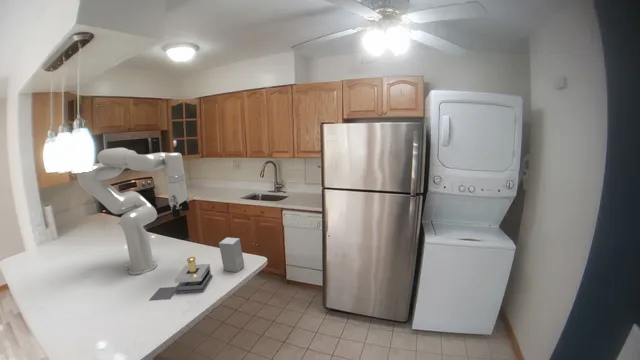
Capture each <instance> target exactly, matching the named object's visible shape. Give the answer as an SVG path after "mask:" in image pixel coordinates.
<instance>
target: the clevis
mask: <svg viewBox="0 0 640 360" xmlns="http://www.w3.org/2000/svg"><path fill="white" fill-rule="evenodd" d="M196 269H197V273H193V274H190V273H189V266H188V264H187V265H186V264H185V265H184V266H183V268H182V270H180V271H179V273H178V274H177V275H176V276H175V278H174V282H175V283H176V284H177V283H178V284H177V285H176V286H175V287H176V289H177V290H176V291H175V294H174V295H180V294H181V295H182V294H184V295H185V294H197V293H198V294H199V293H205V291H206V289H207V287H208V286H209V284H210V283H211V281H212V279H213V278H214V274H212V272H211V265H210V263H205V264H204V263H203V264H196ZM194 281H195V282H194Z"/></svg>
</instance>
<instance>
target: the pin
mask: <svg viewBox="0 0 640 360" xmlns="http://www.w3.org/2000/svg"><path fill="white" fill-rule="evenodd" d="M186 263H187V265H188V266H189V273H190V274H193V273H197V269H196V265H197V264H196V257H195V256H190V257H188V258H187V259H186ZM194 282H195V281H194Z"/></svg>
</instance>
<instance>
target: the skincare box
mask: <svg viewBox="0 0 640 360" xmlns="http://www.w3.org/2000/svg"><path fill="white" fill-rule="evenodd" d="M218 245H219V246H218V247H219V250H220V251H219V252H220V256H221V261H222V267H223V271H225V272H234V273H238V272H240V271H241V270H242V269H243V268H244V267H245V261H244V255H243V250H242V249H243V248H242V245H241V238H238V237H236V238H235V237H228V236H227V237H225V238H224V239H223V240H221V241H220V242H218Z"/></svg>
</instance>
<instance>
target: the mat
mask: <svg viewBox="0 0 640 360" xmlns="http://www.w3.org/2000/svg"><path fill="white" fill-rule="evenodd" d="M176 290H177V289H176V286H170V287H169V286H168V287H159V288H158V289H157V290H156V291H155V293H154V294H153V295H152V296H151V297H150V298H149V300H148V302H152V301H165V300H171V299H172V298H173V296H174V295H176V294H175V291H176Z"/></svg>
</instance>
